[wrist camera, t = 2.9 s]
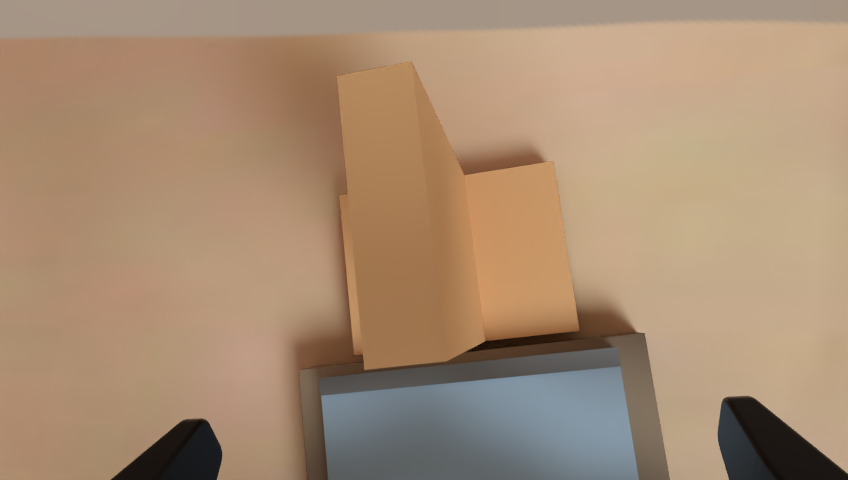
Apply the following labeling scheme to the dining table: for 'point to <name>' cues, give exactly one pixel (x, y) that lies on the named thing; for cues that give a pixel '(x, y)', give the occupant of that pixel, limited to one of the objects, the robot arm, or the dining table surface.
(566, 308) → the tan upright slab stand
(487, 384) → the ticket holder
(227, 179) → the dining table surface
